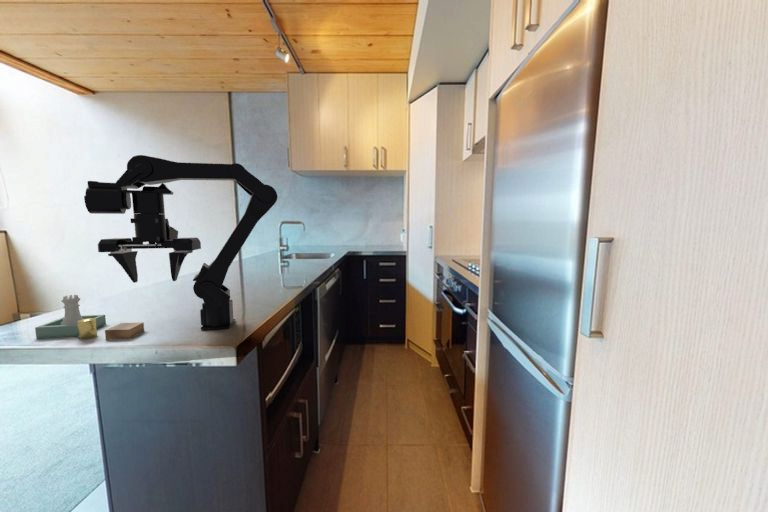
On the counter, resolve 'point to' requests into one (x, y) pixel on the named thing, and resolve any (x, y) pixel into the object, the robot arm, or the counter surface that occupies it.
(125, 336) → the flat brown wooden block
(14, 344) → the counter surface
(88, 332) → the gold metallic block
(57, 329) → the tray
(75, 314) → the rook chess piece
